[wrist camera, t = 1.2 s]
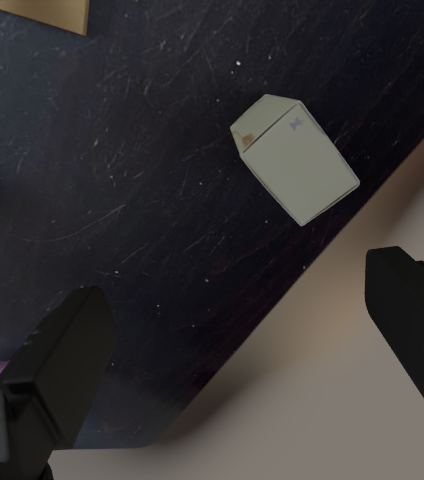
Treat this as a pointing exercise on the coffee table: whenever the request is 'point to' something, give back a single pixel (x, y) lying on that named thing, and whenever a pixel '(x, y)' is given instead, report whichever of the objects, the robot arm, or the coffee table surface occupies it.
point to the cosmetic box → (292, 157)
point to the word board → (52, 12)
